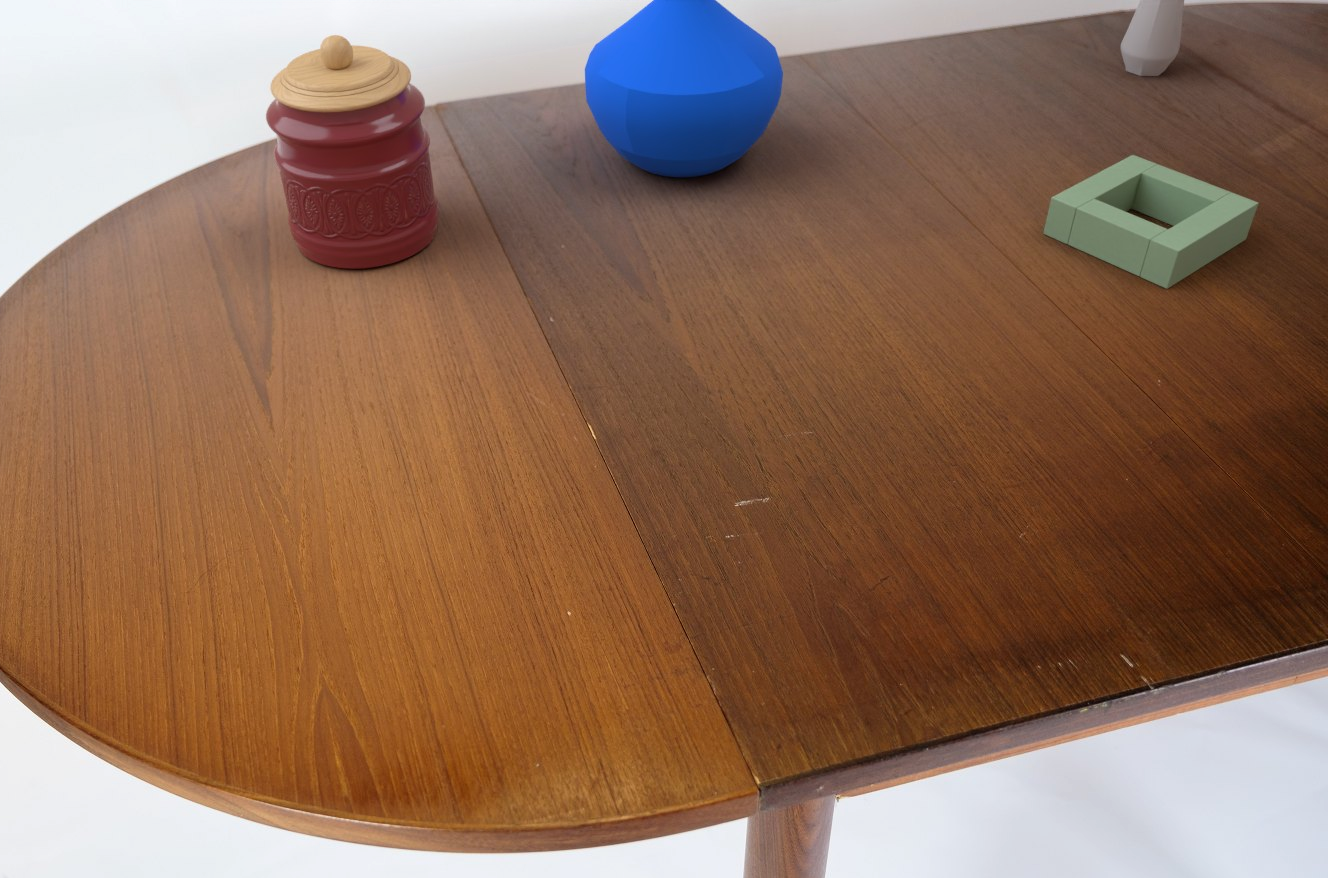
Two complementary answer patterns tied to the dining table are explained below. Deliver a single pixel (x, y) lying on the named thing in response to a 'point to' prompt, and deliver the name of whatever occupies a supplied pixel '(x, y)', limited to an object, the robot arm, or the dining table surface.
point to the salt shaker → (1153, 37)
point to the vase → (683, 87)
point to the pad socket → (1140, 246)
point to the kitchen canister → (353, 156)
